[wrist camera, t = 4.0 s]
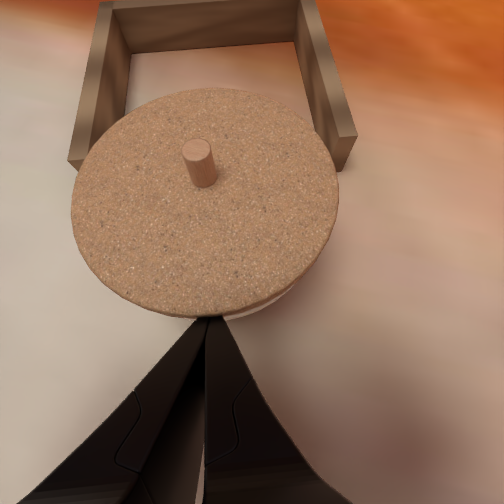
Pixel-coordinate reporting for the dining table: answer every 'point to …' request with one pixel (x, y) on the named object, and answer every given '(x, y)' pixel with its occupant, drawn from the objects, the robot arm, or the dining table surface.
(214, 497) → the robot arm
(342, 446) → the dining table surface
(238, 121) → the lidded jar
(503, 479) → the dining table surface
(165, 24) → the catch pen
